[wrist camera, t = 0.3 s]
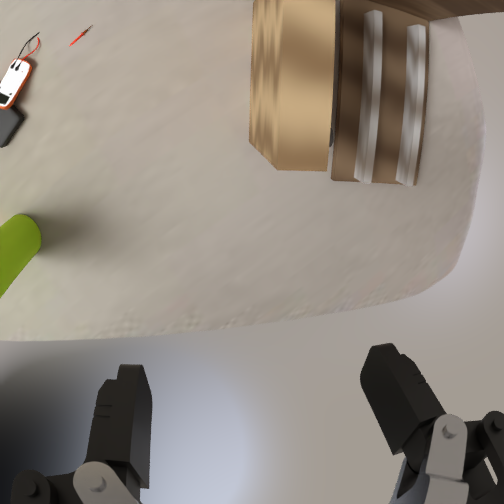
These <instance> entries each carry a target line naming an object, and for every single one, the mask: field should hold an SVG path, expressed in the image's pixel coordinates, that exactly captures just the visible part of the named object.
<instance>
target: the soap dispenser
mask: <svg viewBox="0 0 504 504" xmlns="http://www.w3.org/2000/svg"><path fill="white" fill-rule="evenodd" d="M40 246H41V233H40V230H39V228H38V226H37V225H36V223H35V222H34V221H33V220H32V219H31V218H29V217H28V216H26V215H22V214H19V215H15V216H13V217H12V218H10V219H9V220H8V221H7V222H6V223H4V224H3V225H2V226H1V227H0V298H1V297H2V295H3V294H4V293H5V291H6V290H7V289H8V287H9V286H10V285H11V284H12V282H13V281H14V280H15V278H16V277H17V276H18V275H19V273H20V272H21V271H22V270H23V268H24V267H25V266H26V265H27V264H28V262H29V261H30V260H31V259H32V258H33V256H34V255H35V254H36V253H37V252H38V250H39V249H40Z"/></svg>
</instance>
